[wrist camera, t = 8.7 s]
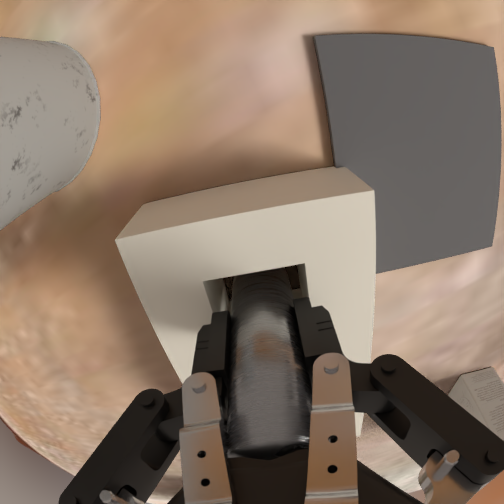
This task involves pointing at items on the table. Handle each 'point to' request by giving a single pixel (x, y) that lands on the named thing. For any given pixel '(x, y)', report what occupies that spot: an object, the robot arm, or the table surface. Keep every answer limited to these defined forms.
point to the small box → (482, 398)
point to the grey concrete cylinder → (43, 121)
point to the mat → (417, 138)
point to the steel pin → (266, 370)
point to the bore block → (256, 254)
